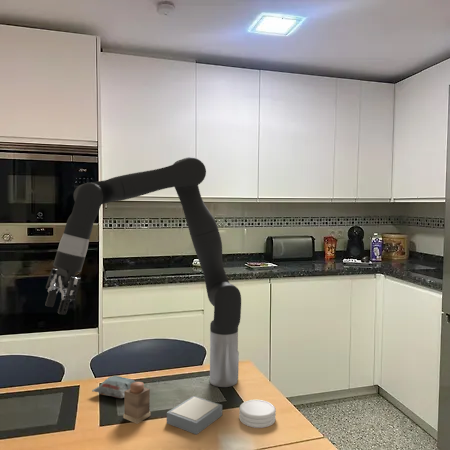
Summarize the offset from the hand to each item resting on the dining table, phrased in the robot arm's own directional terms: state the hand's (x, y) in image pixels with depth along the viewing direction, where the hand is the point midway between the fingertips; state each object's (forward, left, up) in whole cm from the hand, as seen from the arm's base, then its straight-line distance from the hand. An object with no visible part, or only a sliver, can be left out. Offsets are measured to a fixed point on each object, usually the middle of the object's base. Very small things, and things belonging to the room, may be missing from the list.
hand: (55, 310), depth 116 cm
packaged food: (-18, +4, -30) cm, 35 cm away
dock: (-20, +33, -30) cm, 49 cm away
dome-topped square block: (-12, +19, -30) cm, 37 cm away
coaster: (-30, +47, -30) cm, 63 cm away
